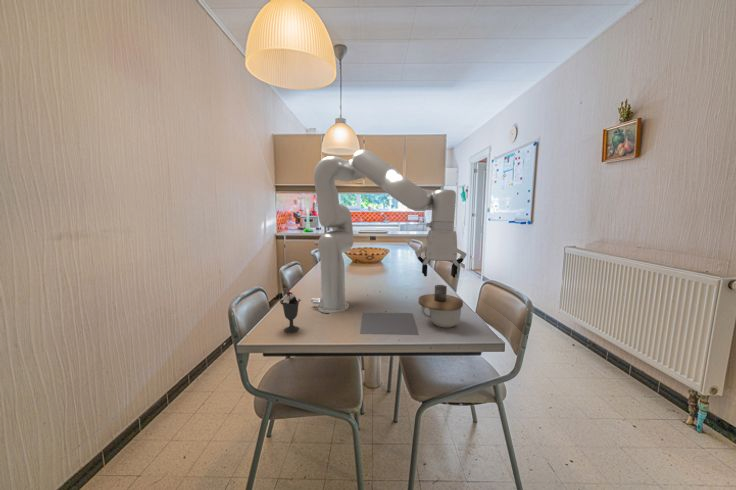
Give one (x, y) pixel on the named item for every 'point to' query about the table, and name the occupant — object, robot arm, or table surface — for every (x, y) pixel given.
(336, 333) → the table surface
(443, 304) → the lid
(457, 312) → the teacup
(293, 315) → the sundae
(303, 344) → the table surface
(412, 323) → the mat
